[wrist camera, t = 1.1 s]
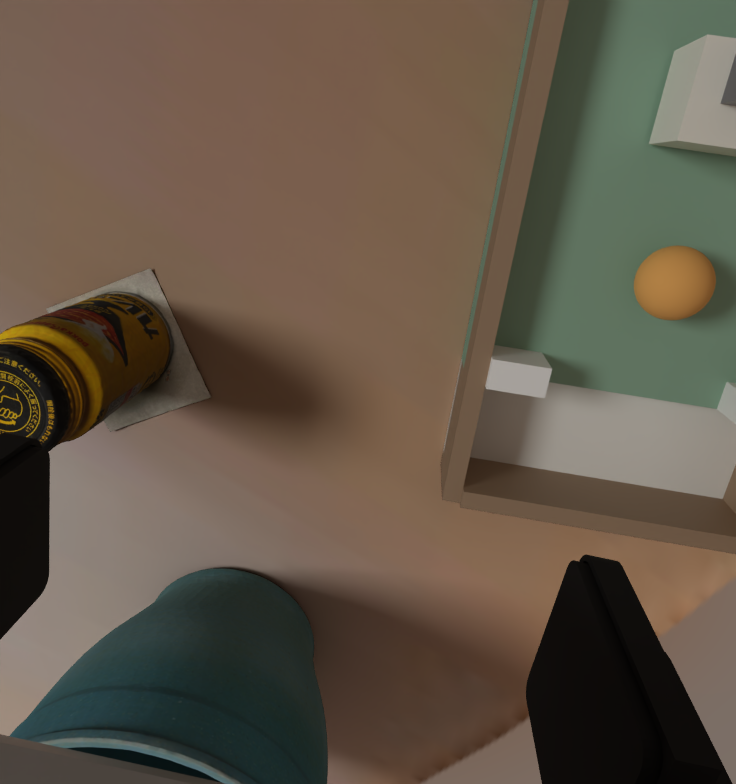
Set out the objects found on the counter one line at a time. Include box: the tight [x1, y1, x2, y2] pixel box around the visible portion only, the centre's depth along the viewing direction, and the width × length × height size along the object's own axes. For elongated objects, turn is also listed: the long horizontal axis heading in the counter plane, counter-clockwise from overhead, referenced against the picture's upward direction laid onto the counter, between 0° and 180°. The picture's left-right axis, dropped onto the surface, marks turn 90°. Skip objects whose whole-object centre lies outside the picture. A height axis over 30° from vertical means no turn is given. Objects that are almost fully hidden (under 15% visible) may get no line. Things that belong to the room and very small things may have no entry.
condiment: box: [0, 268, 211, 451], centre depth 33 cm, size 7×8×12 cm
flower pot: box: [10, 568, 328, 784], centre depth 37 cm, size 18×18×17 cm
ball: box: [634, 246, 716, 320], centre depth 30 cm, size 4×4×4 cm
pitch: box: [441, 0, 736, 554], centre depth 32 cm, size 26×18×5 cm
